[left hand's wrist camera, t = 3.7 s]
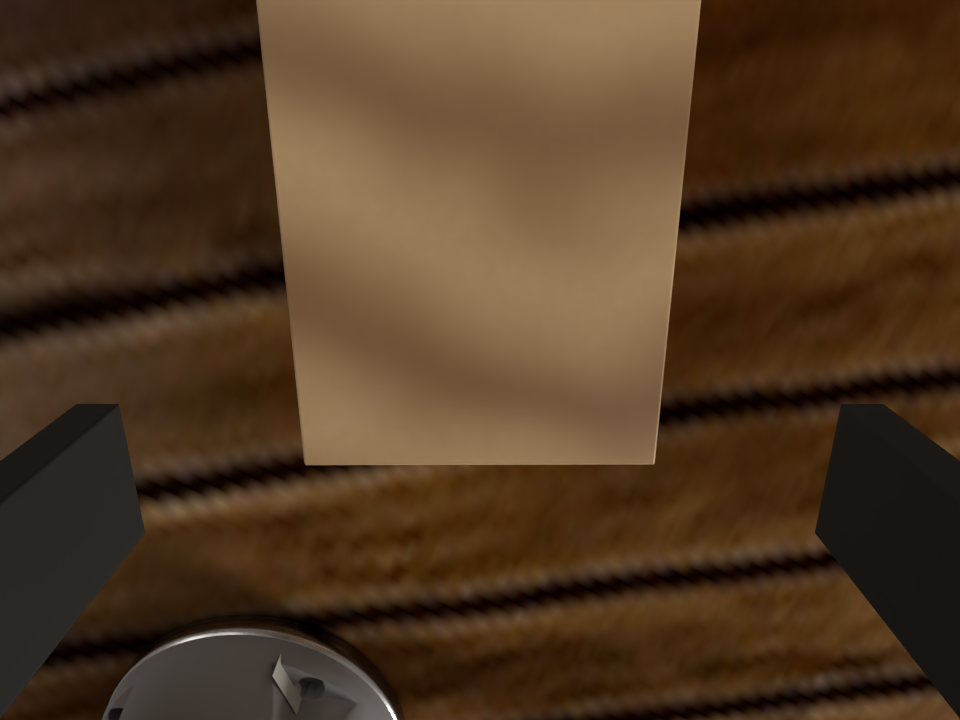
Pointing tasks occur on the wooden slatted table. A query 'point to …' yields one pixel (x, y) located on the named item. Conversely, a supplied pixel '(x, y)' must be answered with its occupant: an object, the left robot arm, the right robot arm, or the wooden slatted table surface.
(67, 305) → the wooden slatted table surface
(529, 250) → the cabinet
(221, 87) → the wooden slatted table surface
